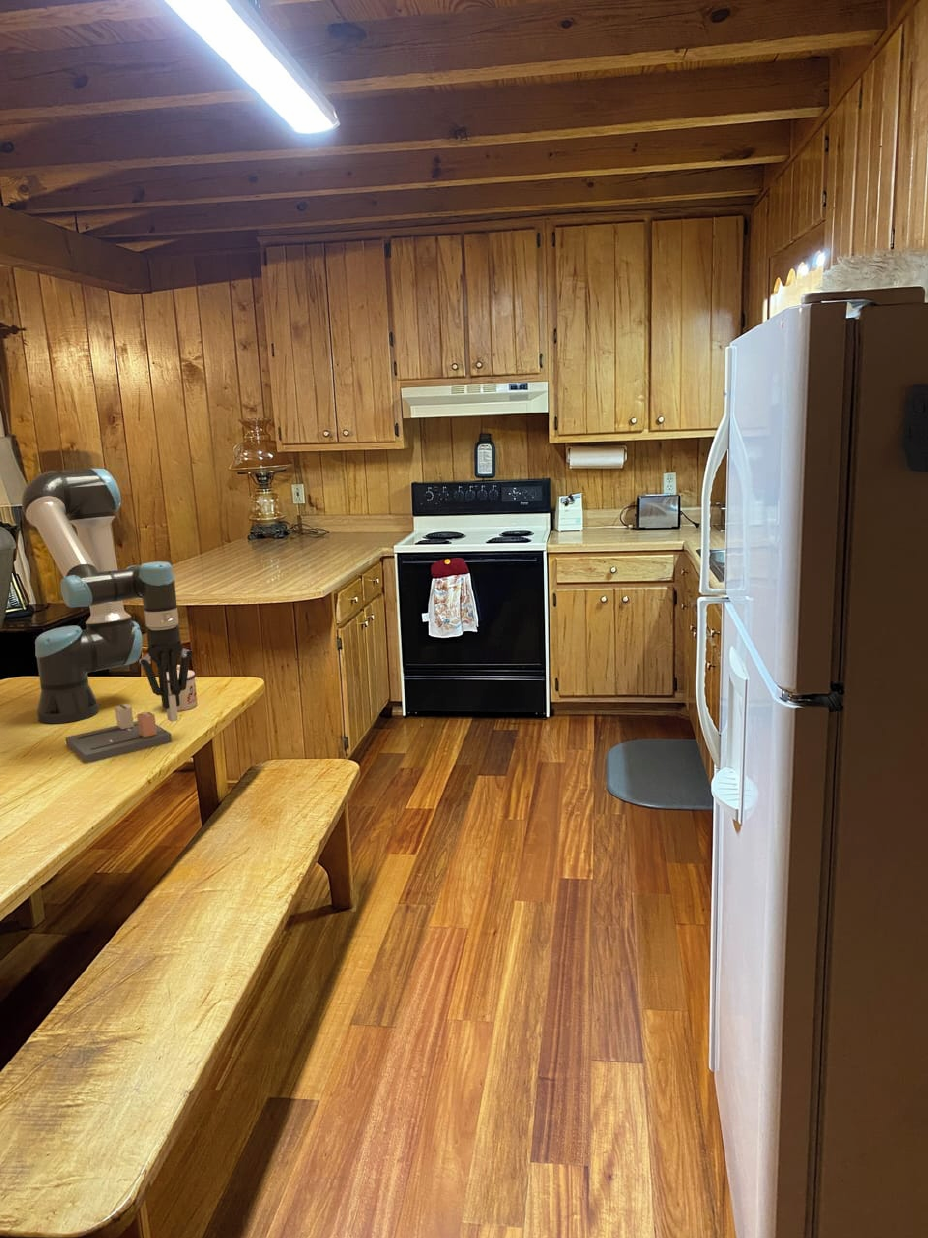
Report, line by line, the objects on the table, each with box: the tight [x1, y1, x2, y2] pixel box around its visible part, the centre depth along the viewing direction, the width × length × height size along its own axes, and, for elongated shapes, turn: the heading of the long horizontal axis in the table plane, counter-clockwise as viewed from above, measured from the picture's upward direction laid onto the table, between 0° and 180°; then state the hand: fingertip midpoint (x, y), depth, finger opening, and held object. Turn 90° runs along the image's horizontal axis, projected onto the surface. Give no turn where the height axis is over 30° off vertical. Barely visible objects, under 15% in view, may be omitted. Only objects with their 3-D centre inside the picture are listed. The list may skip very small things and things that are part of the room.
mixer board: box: [65, 720, 173, 764], centre depth 218 cm, size 16×20×2 cm
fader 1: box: [114, 703, 134, 729], centre depth 223 cm, size 4×3×5 cm
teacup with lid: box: [165, 664, 198, 712], centre depth 246 cm, size 12×9×12 cm
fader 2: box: [136, 711, 157, 738], centre depth 216 cm, size 4×3×5 cm
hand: (172, 719), depth 220 cm, fingers closed
